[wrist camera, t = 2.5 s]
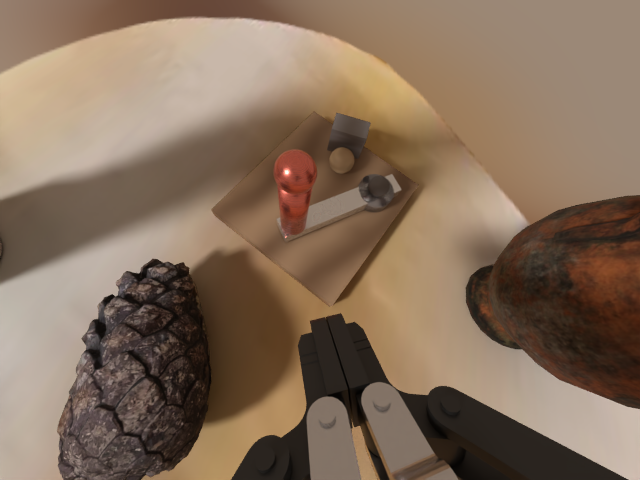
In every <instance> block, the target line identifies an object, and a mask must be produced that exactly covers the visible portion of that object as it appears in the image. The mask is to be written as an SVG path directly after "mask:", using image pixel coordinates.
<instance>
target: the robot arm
mask: <svg viewBox="0 0 640 480" xmlns="http://www.w3.org/2000/svg"><path fill="white" fill-rule="evenodd" d="M1 250H2V245H1V241H0V257H1ZM310 324H311V330H312V333H308V334H304V335H301V337H300V341H299V344H298V349H299V355H300V362H301V368H302V375H303V381H304V388H305V394H306V402H307V406H306V412H305V414H304V417H303V419H302V420H301V422H300V423H299V424H298V425H297V426H296V427H295V428H294V429H293V430H291V431H290V432H288V433H287V434H286V435H284V436H283V437H282V438H280V437H278V436H275V435H269V436H265V437H263V438H261V439H259V440H258V441H257V442H255V443H254V444H253V446H252V447H251V448H250V450H249V451H248V453H247V454H246V456H245V458H244V459H243V461H242V463H241V464H240V466H239V468H238V469H237V471H236V472H235V474H234V476H233V477H232V479H231V480H361V475H360V471H359V466H358V461H357V456H356V452H355V447H354V442H353V438H352V430H351V428H352V422H353V425H354V427H357V426H361V430H362V433H363V436H364V439H365V448H366V451H367V454H368V456H369V459H370V462H371V464H372V467H373V469H374V472H375V475H376V477H377V480H628V479H626V478H624V477H622V476H620V475H618V474H616V473H614V472H613V471H611V470H609V469H607V468H605V467H603V466H601V465H599V464H597V463H595V462H593V461H592V460H590V459H588V458H586V457H584V456H582V455H580V454H578V453H576V452H574V451H572V450H571V449H569V448H567V447H565V446H563V445H561V444H559V443H557V442H555V441H553V440H551V439H550V438H548V437H546V436H544V435H542V434H540V433H538V432H536V431H534V430H532V429H530V428H529V427H527V426H525V425H523V424H521V423H519V422H517V421H515V420H513V419H511V418H509V417H508V416H506V415H504V414H502V413H500V412H498V411H496V410H494V409H492V408H490V407H488V406H487V405H485V404H483V403H481V402H479V401H477V400H475V399H473V398H471V397H469V396H467V395H466V394H464V393H462V392H460V391H458V390H456V389H454V388H451V387H447V386H439V387H436V388H434V389H432V390H431V391H430V393H429V395H416V394H407V393H404V392H401V391H399V390H398V389H396V388H395V387H393V386H392V385H391V384H390V382H389V381H388V379H387V378H386V376H385V374H384V372H383V369H382V367H381V365H380V363H379V361H378V359H377V357H376V355H375V353H374V351H373V349H372V347H371V345H370V343H369V340H368V338H367V336H366V334H365V332H364V330H363V329H362V328H361V327H360V326H359V325H358V324H357V323H355V322H353V323H348V324H346V323H345V321H344V318H343V316H342V314H341V313H340V314H336V315H332V316H328V317H326V318H325V317H324V318H320V319H316V320H311V321H310ZM351 419H352V420H351Z"/></svg>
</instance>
